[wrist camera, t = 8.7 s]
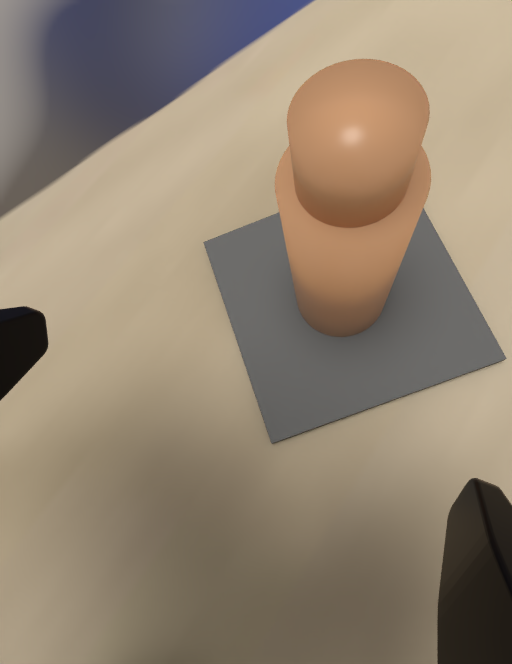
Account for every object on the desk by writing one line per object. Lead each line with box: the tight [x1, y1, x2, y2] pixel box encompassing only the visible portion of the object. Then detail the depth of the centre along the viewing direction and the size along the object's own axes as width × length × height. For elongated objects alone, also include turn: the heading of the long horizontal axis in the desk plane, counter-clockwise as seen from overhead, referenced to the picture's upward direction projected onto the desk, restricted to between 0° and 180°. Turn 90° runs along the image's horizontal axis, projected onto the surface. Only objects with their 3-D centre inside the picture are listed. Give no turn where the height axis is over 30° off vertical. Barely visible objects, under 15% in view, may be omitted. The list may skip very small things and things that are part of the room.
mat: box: [204, 208, 506, 443], centre depth 22 cm, size 12×12×1 cm
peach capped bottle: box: [275, 59, 431, 337], centre depth 16 cm, size 5×5×12 cm
